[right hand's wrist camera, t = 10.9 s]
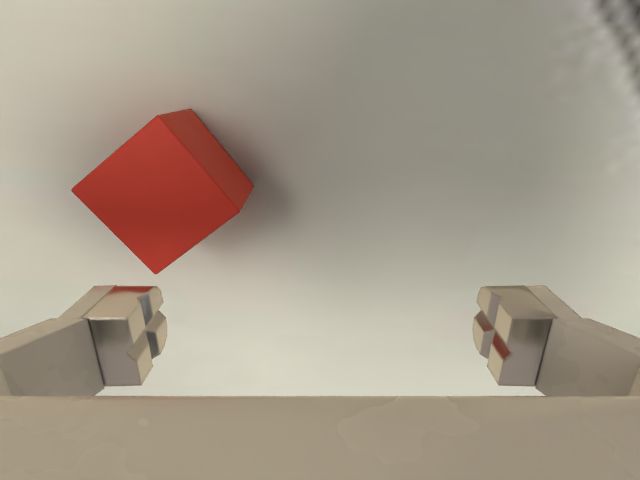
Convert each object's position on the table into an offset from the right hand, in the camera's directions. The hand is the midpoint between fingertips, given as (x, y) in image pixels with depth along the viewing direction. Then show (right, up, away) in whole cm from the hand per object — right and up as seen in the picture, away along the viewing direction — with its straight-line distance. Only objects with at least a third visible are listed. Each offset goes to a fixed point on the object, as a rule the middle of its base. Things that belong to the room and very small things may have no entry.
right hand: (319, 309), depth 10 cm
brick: (-6, +5, +9) cm, 12 cm away
